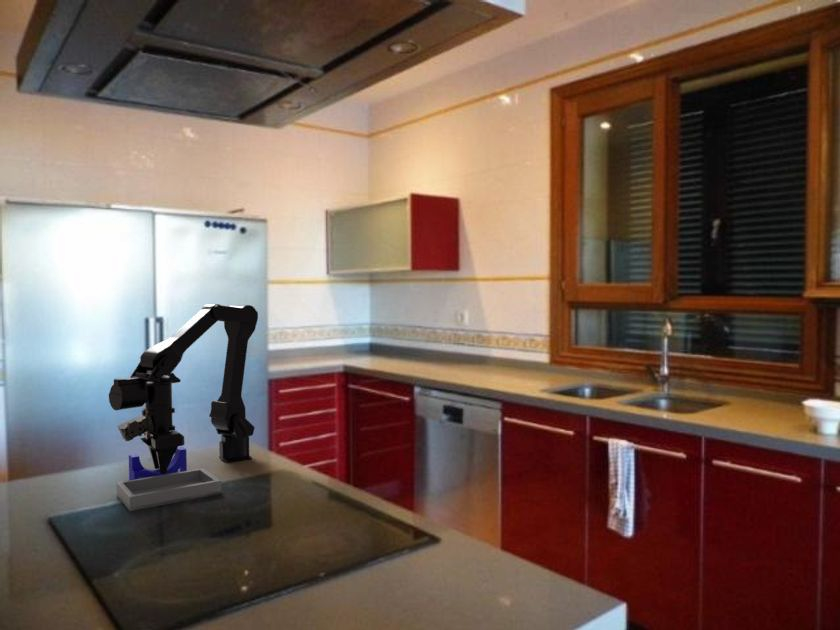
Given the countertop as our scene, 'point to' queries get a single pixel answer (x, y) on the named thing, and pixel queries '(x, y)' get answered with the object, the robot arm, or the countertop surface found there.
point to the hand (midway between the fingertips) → (160, 471)
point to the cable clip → (140, 472)
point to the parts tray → (167, 489)
